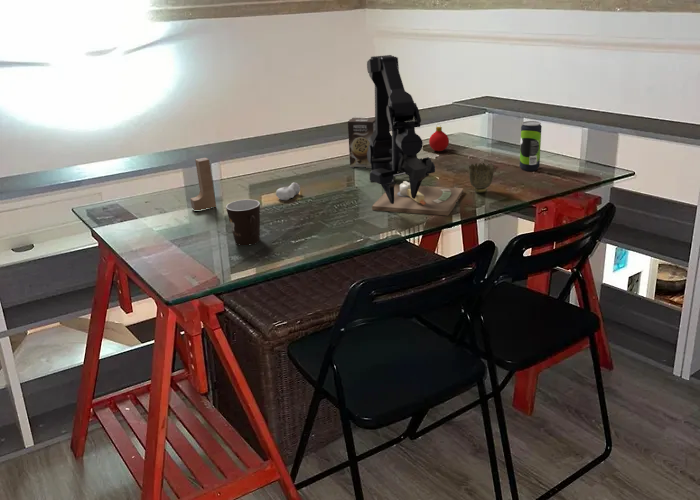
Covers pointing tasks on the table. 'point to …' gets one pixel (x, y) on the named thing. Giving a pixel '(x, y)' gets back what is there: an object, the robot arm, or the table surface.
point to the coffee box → (360, 140)
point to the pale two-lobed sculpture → (288, 191)
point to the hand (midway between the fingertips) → (403, 200)
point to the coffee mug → (245, 221)
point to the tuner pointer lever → (406, 191)
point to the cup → (481, 176)
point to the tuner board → (434, 197)
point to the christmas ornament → (439, 140)
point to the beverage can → (530, 145)
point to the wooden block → (204, 186)
